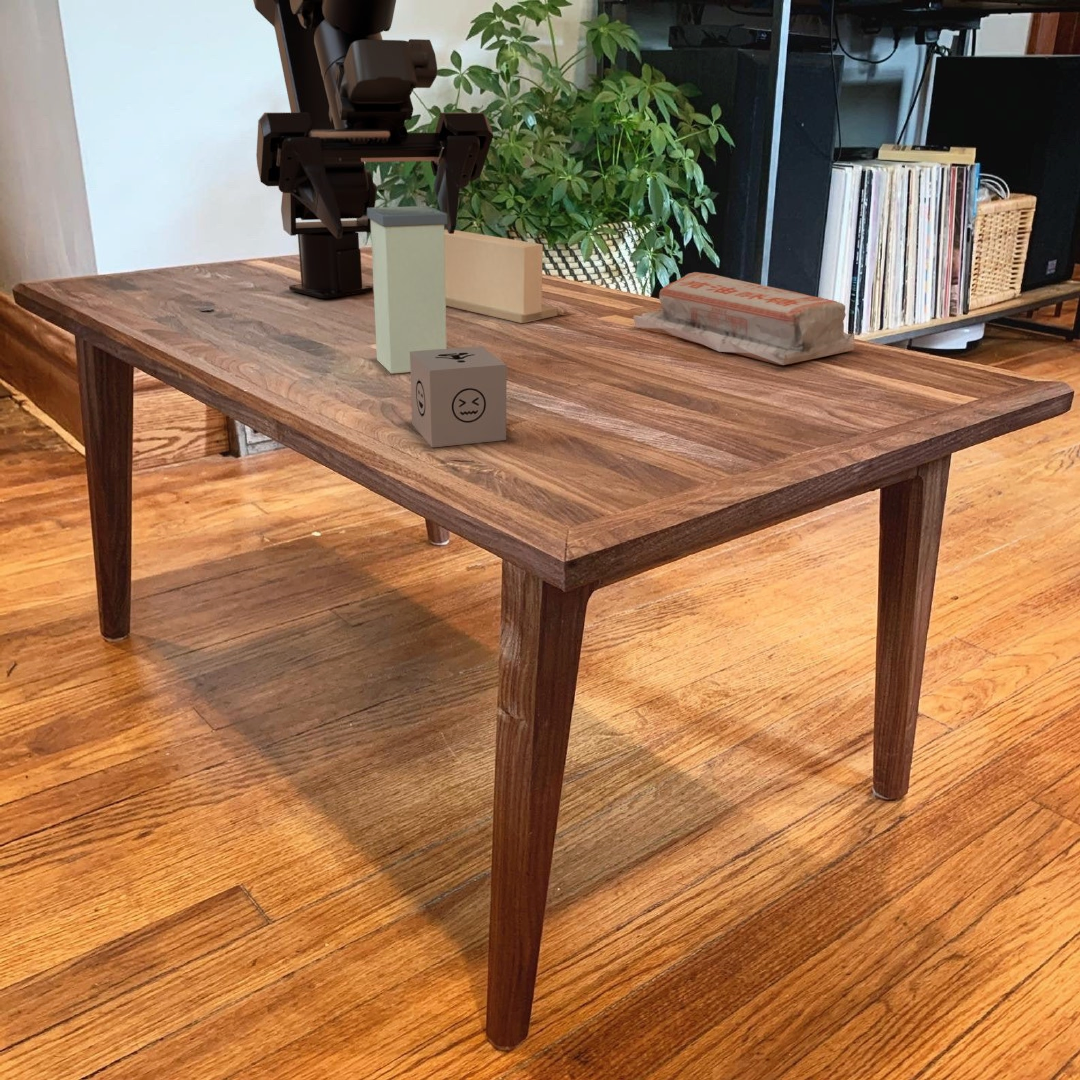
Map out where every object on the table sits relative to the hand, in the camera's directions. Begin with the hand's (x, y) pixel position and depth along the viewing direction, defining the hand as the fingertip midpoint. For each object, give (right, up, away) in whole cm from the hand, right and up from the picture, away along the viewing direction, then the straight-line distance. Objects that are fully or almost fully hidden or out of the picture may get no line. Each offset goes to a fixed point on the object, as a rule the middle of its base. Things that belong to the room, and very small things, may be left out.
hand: (397, 232), depth 85 cm
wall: (+6, -2, +21) cm, 22 cm away
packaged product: (+29, -7, +11) cm, 32 cm away
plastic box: (+1, -10, +2) cm, 10 cm away
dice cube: (+6, -17, -14) cm, 23 cm away
